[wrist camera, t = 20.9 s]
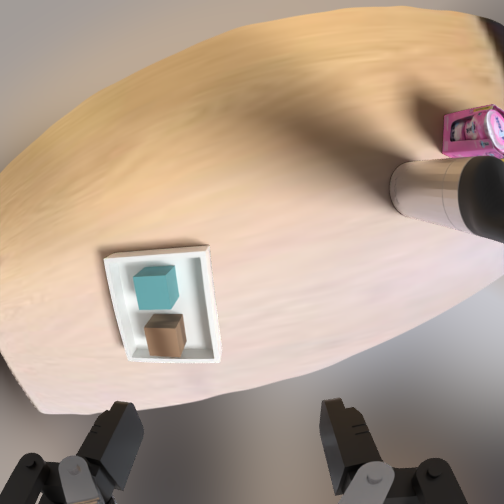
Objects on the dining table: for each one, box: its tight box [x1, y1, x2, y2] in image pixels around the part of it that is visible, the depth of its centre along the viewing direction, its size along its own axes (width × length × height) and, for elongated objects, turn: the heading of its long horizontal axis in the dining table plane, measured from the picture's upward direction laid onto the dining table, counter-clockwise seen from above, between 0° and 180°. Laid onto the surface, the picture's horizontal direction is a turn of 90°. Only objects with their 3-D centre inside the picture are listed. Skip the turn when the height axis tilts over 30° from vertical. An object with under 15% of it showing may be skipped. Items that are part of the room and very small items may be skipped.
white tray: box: [104, 245, 222, 363], centre depth 42 cm, size 16×18×4 cm
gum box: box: [442, 104, 504, 162], centre depth 32 cm, size 24×8×14 cm, turn 82°
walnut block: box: [144, 314, 187, 357], centre depth 42 cm, size 5×5×5 cm
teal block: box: [133, 265, 179, 310], centre depth 40 cm, size 5×5×5 cm
